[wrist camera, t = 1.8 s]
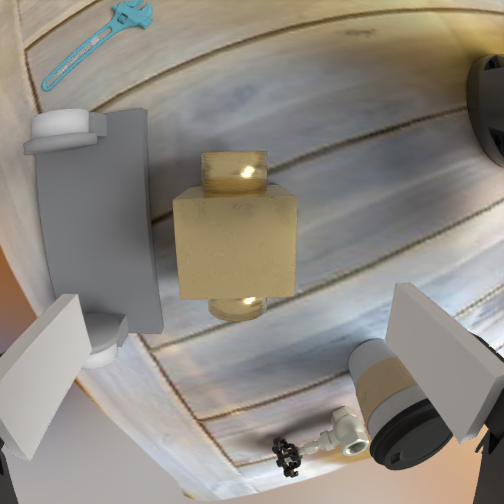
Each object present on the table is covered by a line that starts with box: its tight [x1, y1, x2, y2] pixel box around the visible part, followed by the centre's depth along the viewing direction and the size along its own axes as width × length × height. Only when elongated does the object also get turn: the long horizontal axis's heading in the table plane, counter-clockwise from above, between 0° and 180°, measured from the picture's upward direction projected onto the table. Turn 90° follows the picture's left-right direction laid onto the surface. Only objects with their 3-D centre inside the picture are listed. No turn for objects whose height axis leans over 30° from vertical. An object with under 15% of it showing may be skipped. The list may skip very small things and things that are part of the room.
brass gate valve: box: [173, 151, 297, 321], centre depth 25 cm, size 8×13×9 cm, turn 1°
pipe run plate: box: [24, 108, 164, 369], centre depth 24 cm, size 12×22×9 cm, turn 1°
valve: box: [272, 406, 369, 478], centre depth 35 cm, size 7×7×12 cm
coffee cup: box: [348, 339, 453, 470], centre depth 28 cm, size 9×9×15 cm
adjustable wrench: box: [42, 0, 153, 91], centre depth 23 cm, size 14×1×5 cm
